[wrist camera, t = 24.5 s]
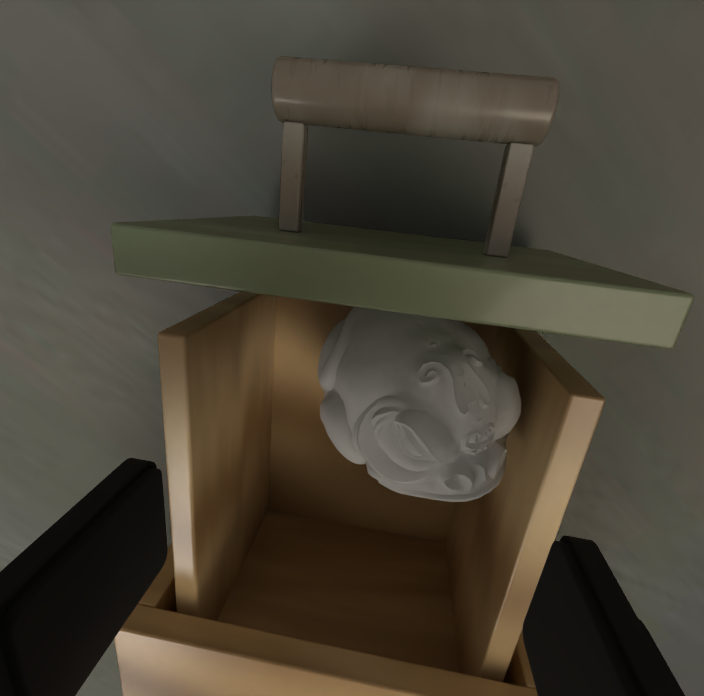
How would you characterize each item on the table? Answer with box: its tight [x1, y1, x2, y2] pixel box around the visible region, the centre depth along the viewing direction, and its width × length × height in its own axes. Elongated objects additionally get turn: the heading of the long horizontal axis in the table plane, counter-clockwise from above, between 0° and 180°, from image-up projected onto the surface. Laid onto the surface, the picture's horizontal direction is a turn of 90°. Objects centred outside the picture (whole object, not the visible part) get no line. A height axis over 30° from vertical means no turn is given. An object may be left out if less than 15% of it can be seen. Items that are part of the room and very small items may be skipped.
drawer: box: [111, 56, 694, 682], centre depth 15 cm, size 20×13×9 cm, turn 174°
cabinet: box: [114, 543, 538, 696], centre depth 20 cm, size 17×14×11 cm
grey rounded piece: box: [318, 307, 521, 502], centre depth 13 cm, size 6×7×7 cm
